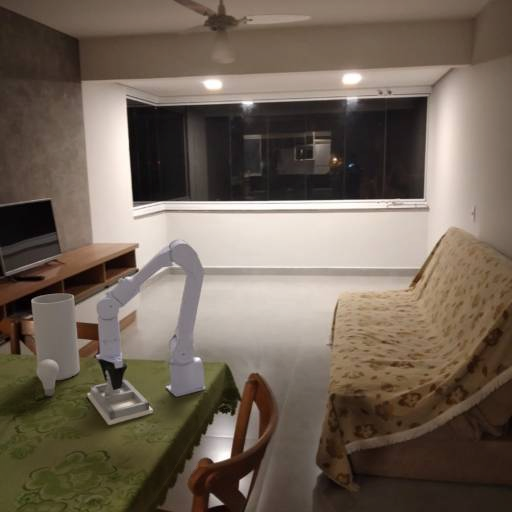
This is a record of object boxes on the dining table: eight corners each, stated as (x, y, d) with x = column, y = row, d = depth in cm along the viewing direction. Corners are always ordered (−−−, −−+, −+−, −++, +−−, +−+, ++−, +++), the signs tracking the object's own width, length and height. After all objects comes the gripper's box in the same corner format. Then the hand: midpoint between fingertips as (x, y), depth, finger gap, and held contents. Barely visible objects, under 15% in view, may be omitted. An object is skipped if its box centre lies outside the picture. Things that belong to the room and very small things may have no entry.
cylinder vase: (72, 381, 164) (65, 303, 160) (32, 382, 164) (24, 303, 160) (85, 366, 176) (79, 293, 172) (48, 366, 177) (41, 293, 172)
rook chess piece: (107, 392, 153) (105, 365, 152) (122, 392, 153) (120, 365, 152) (102, 398, 149) (100, 371, 147) (118, 398, 149) (116, 371, 147)
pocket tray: (128, 386, 159) (127, 377, 159) (153, 412, 142) (152, 402, 141) (87, 396, 153) (86, 386, 152) (108, 425, 136) (107, 414, 135)
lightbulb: (53, 401, 150) (50, 364, 148) (34, 399, 152) (30, 363, 150) (65, 392, 156) (62, 356, 154) (46, 391, 157) (43, 355, 156)
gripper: (88, 334, 152) (91, 379, 155) (102, 348, 140) (106, 396, 142) (112, 329, 156) (115, 373, 158) (128, 343, 144) (131, 390, 146)
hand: (113, 384), depth 151 cm, fingers open, 7 cm apart
